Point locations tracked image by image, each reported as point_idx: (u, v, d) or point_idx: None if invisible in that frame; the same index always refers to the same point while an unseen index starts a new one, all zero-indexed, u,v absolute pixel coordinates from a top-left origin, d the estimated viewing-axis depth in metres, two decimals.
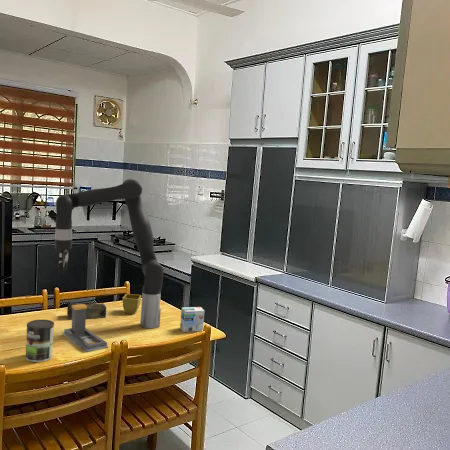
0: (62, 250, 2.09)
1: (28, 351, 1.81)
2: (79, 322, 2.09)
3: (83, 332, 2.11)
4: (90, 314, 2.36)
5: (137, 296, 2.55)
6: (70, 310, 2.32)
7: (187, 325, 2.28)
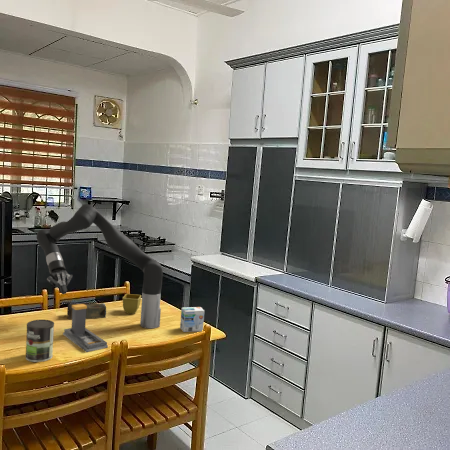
0: None
1: (28, 351, 1.81)
2: (79, 322, 2.09)
3: (83, 332, 2.11)
4: (90, 313, 2.36)
5: (137, 296, 2.55)
6: (70, 310, 2.32)
7: (187, 325, 2.28)
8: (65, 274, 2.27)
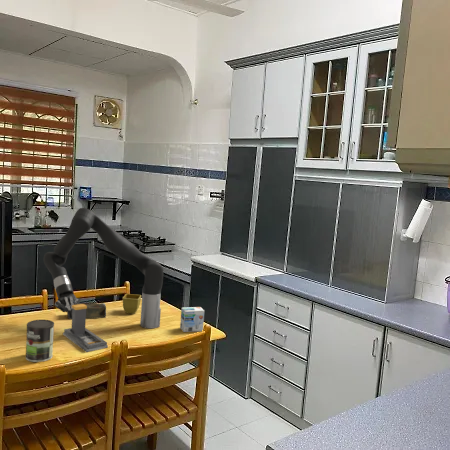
0: None
1: (28, 351, 1.81)
2: (79, 322, 2.09)
3: (83, 332, 2.11)
4: (90, 313, 2.36)
5: (137, 296, 2.55)
6: None
7: (186, 325, 2.28)
8: (73, 298, 2.21)
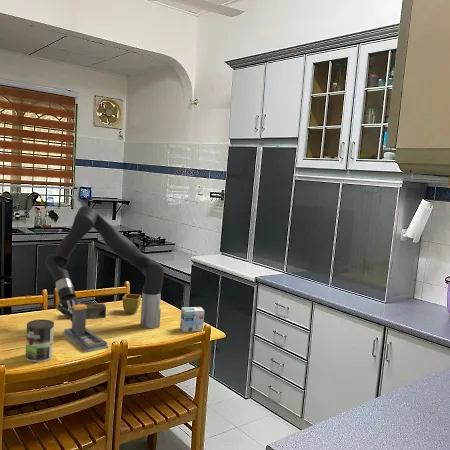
0: None
1: (28, 351, 1.81)
2: (79, 322, 2.09)
3: (83, 332, 2.11)
4: (90, 313, 2.37)
5: (137, 296, 2.55)
6: None
7: (186, 325, 2.28)
8: (75, 301, 2.17)
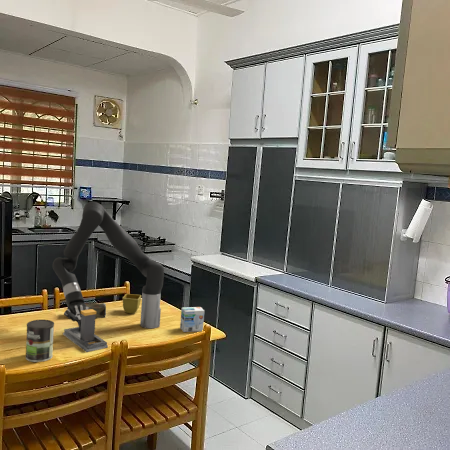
0: None
1: (28, 351, 1.81)
2: (88, 328, 2.02)
3: (92, 338, 2.04)
4: None
5: (137, 296, 2.55)
6: None
7: (187, 325, 2.28)
8: (83, 307, 2.10)
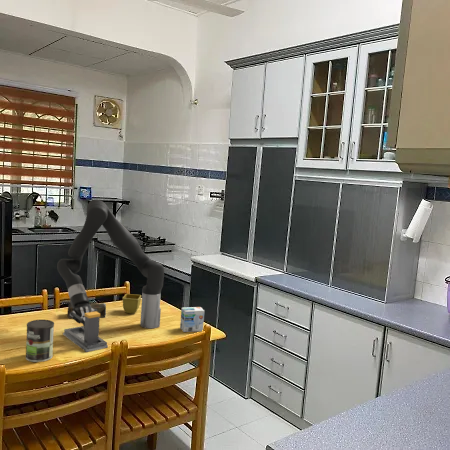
0: None
1: (28, 351, 1.81)
2: (92, 331, 1.99)
3: (96, 341, 2.01)
4: None
5: (137, 296, 2.55)
6: (69, 309, 2.34)
7: (186, 325, 2.28)
8: (89, 308, 2.08)
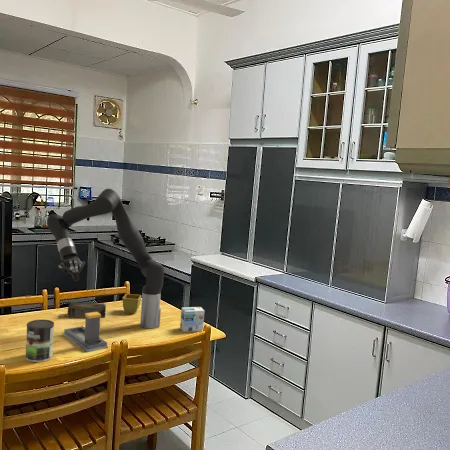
0: None
1: (28, 351, 1.81)
2: (93, 331, 1.99)
3: (97, 341, 2.01)
4: None
5: (137, 296, 2.55)
6: (69, 308, 2.34)
7: (187, 325, 2.28)
8: (77, 261, 2.16)
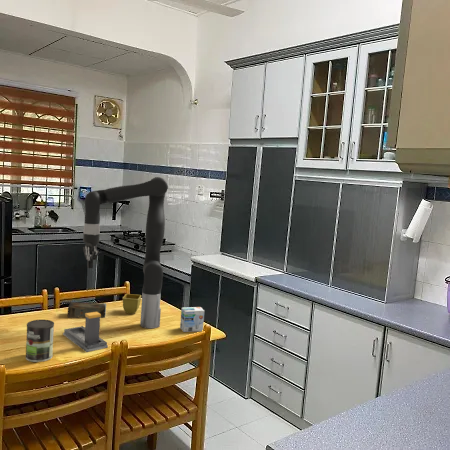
0: None
1: (28, 351, 1.81)
2: (93, 331, 1.99)
3: (97, 341, 2.01)
4: None
5: (137, 296, 2.55)
6: (69, 308, 2.35)
7: (186, 325, 2.28)
8: None
